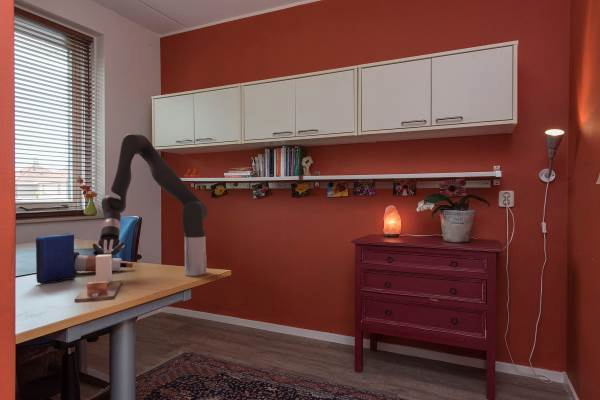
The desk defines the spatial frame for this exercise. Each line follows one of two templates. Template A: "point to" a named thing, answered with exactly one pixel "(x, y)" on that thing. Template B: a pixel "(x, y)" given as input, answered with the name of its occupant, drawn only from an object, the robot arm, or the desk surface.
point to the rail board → (101, 296)
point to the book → (55, 258)
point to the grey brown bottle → (90, 263)
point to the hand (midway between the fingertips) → (106, 262)
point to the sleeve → (104, 268)
